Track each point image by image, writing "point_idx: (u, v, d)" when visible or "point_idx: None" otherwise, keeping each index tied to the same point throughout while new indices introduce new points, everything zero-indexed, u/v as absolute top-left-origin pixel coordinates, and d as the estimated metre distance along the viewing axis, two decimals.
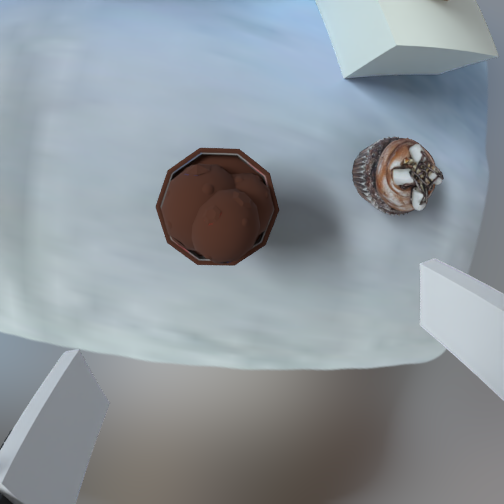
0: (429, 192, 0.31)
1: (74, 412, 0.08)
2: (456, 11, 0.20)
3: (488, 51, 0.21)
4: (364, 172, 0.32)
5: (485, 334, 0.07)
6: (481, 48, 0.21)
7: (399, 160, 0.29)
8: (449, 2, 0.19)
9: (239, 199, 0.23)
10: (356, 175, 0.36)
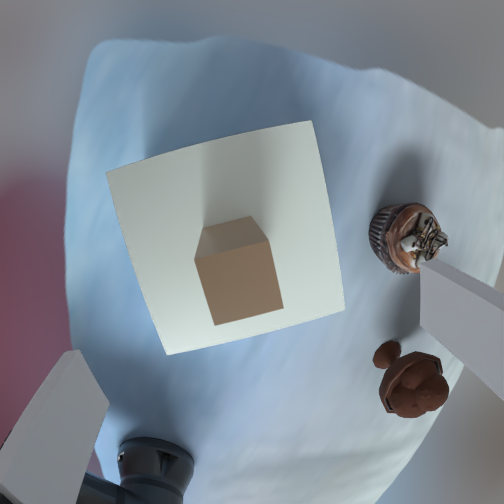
0: (434, 222, 0.33)
1: (74, 412, 0.08)
2: (264, 201, 0.25)
3: (311, 145, 0.24)
4: (404, 273, 0.37)
5: (485, 334, 0.07)
6: (313, 163, 0.24)
7: (411, 260, 0.33)
8: (251, 211, 0.25)
9: (426, 396, 0.33)
10: None
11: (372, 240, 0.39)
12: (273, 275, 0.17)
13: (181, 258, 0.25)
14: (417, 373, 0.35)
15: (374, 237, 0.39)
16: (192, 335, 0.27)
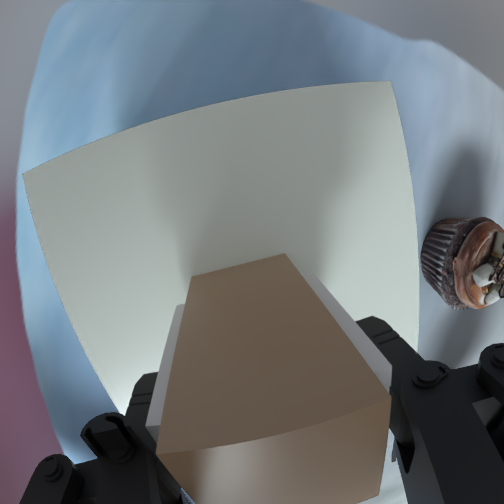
0: None
1: None
2: (310, 225, 0.13)
3: (392, 124, 0.12)
4: (464, 307, 0.26)
5: None
6: (395, 156, 0.12)
7: (481, 296, 0.22)
8: (286, 245, 0.13)
9: None
10: None
11: (427, 265, 0.28)
12: (377, 459, 0.05)
13: (155, 328, 0.13)
14: None
15: (431, 261, 0.27)
16: None
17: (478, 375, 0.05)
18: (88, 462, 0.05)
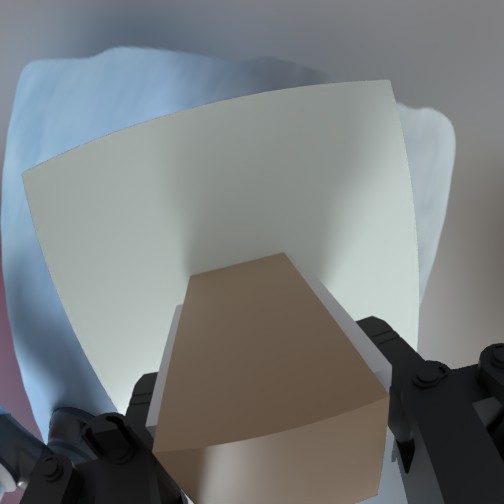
0: None
1: None
2: (309, 224, 0.13)
3: (391, 123, 0.12)
4: None
5: None
6: (394, 155, 0.12)
7: None
8: (285, 244, 0.13)
9: None
10: None
11: None
12: (375, 459, 0.05)
13: (154, 327, 0.13)
14: None
15: None
16: None
17: (478, 374, 0.05)
18: (88, 462, 0.05)
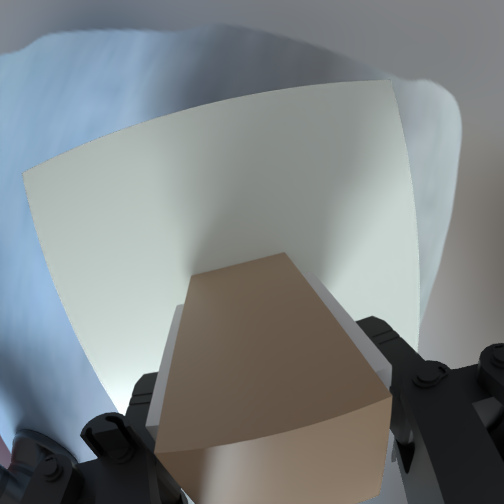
0: None
1: None
2: (310, 224, 0.13)
3: (392, 123, 0.12)
4: None
5: None
6: (395, 155, 0.12)
7: None
8: (286, 244, 0.13)
9: None
10: None
11: None
12: (377, 459, 0.05)
13: (155, 327, 0.13)
14: None
15: None
16: None
17: (478, 374, 0.05)
18: (88, 462, 0.05)
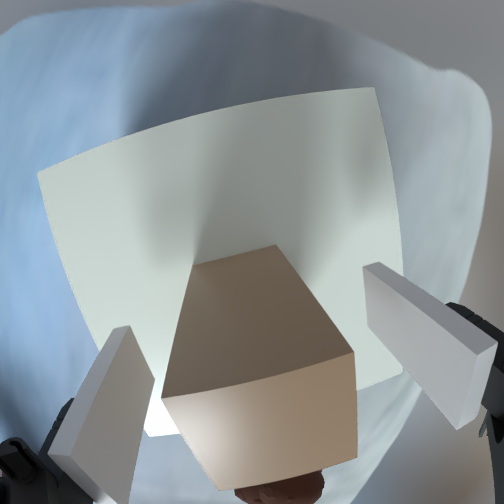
0: None
1: (129, 385, 0.09)
2: (299, 219, 0.14)
3: (375, 127, 0.13)
4: None
5: (416, 338, 0.08)
6: (378, 156, 0.14)
7: None
8: (277, 237, 0.14)
9: (269, 496, 0.20)
10: None
11: None
12: (350, 415, 0.06)
13: (159, 313, 0.15)
14: None
15: None
16: None
17: None
18: None
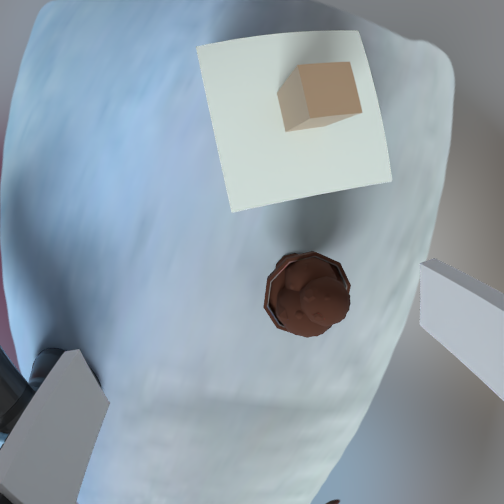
0: None
1: (74, 412, 0.08)
2: None
3: (359, 46, 0.26)
4: None
5: (485, 334, 0.07)
6: (361, 58, 0.26)
7: None
8: None
9: (310, 297, 0.32)
10: None
11: None
12: (354, 86, 0.19)
13: (257, 116, 0.27)
14: (300, 270, 0.34)
15: None
16: (259, 190, 0.29)
17: None
18: None
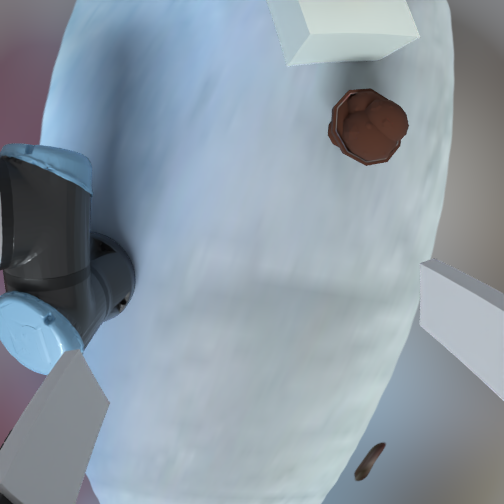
0: None
1: (74, 412, 0.08)
2: None
3: None
4: None
5: (485, 334, 0.07)
6: None
7: None
8: None
9: (376, 107, 0.32)
10: None
11: None
12: None
13: None
14: (362, 95, 0.34)
15: None
16: (329, 23, 0.29)
17: None
18: None
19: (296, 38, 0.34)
